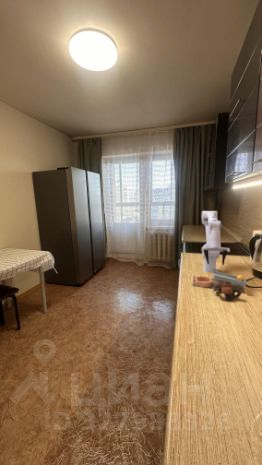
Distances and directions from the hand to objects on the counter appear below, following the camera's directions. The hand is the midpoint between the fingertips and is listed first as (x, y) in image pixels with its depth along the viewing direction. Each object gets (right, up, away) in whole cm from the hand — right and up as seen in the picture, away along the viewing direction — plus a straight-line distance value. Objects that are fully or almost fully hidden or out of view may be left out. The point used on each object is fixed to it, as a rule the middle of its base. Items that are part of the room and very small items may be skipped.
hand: (215, 264), depth 111 cm
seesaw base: (+1, -12, 0) cm, 12 cm away
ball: (+10, -6, -7) cm, 14 cm away
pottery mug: (-1, -15, -14) cm, 20 cm away
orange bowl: (-7, -11, 0) cm, 13 cm away
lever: (+6, -9, -1) cm, 10 cm away
